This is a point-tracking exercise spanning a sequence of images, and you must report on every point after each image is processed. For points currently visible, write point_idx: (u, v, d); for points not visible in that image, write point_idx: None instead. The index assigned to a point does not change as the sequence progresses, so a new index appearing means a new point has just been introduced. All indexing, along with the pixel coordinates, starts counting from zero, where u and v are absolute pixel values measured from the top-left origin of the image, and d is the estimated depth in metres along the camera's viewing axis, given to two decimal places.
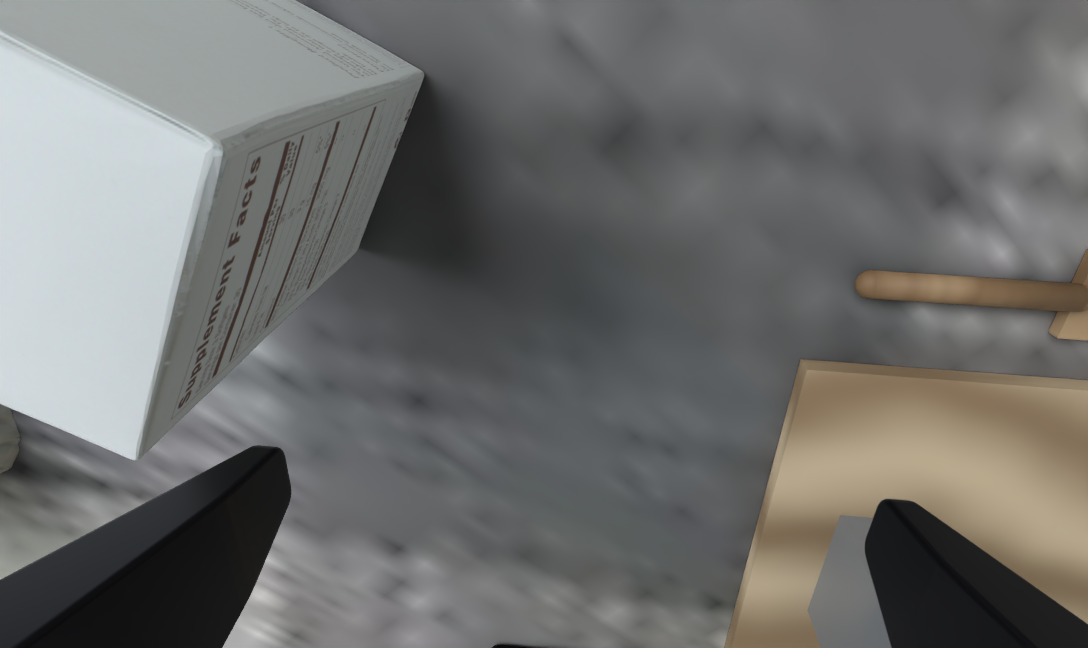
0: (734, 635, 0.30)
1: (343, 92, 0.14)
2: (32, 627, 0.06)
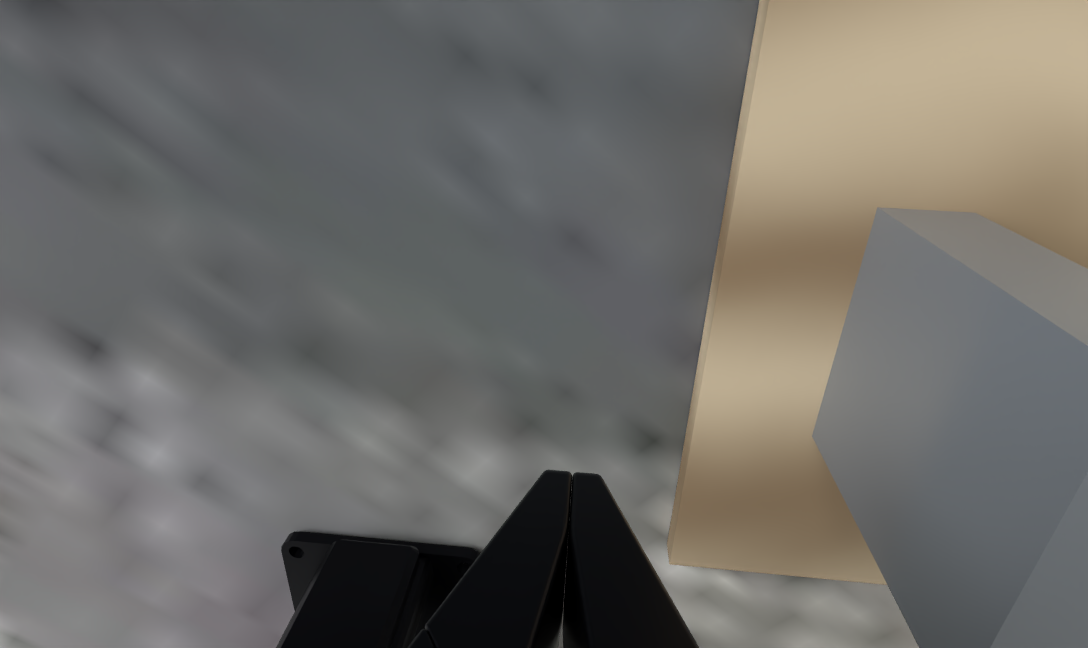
0: (682, 495, 0.17)
1: None
2: None
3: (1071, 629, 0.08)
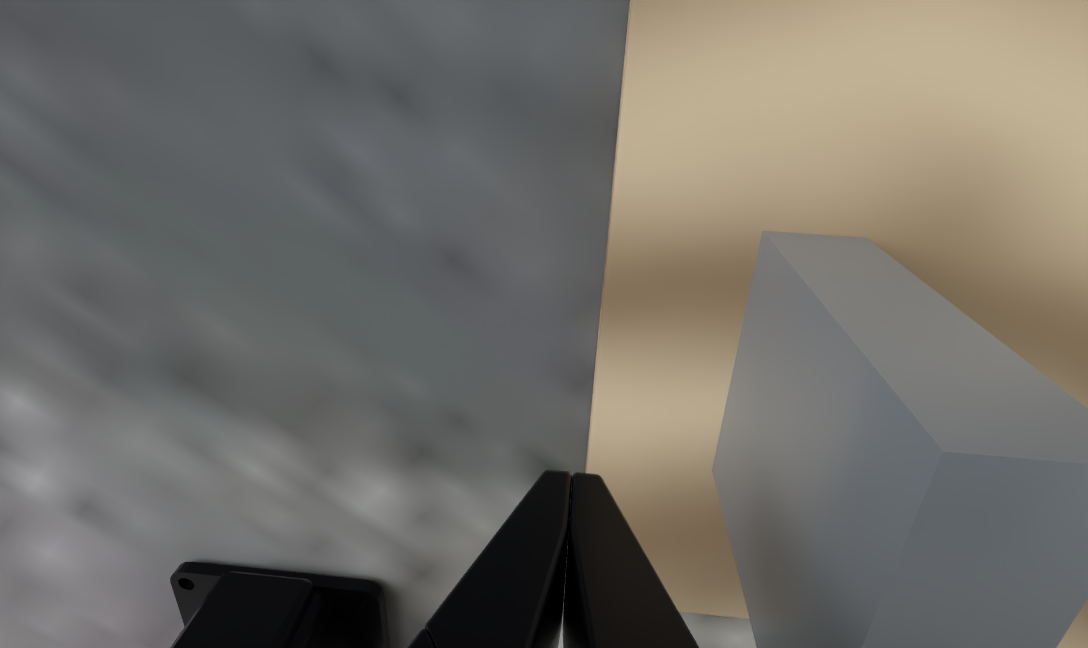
0: None
1: None
2: None
3: None
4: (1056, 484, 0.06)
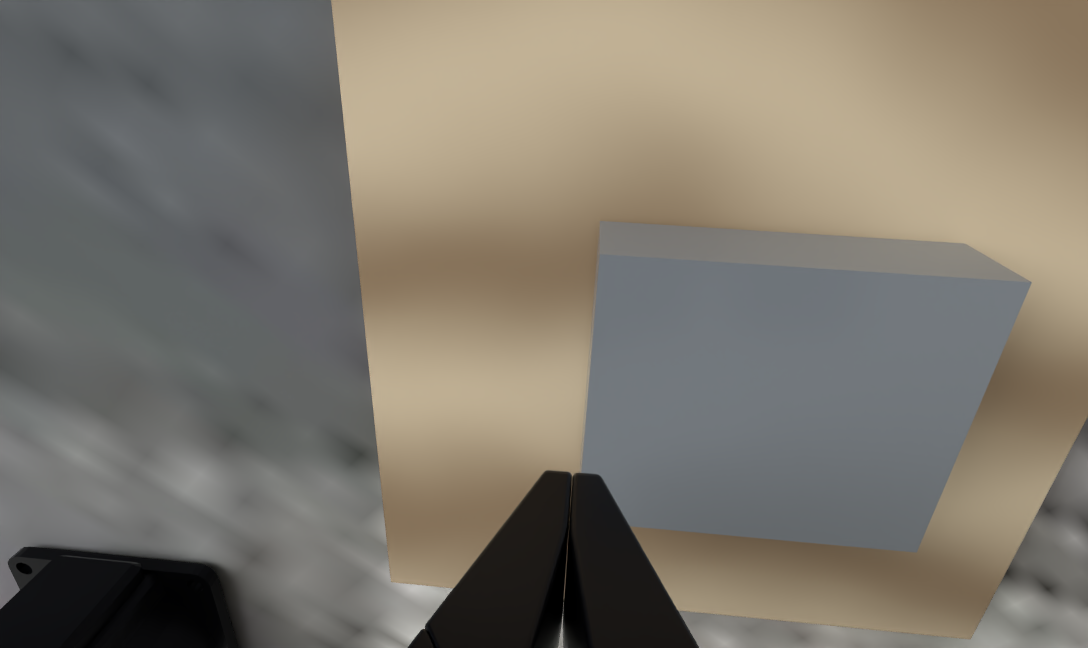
0: (384, 510, 0.16)
1: None
2: None
3: None
4: None
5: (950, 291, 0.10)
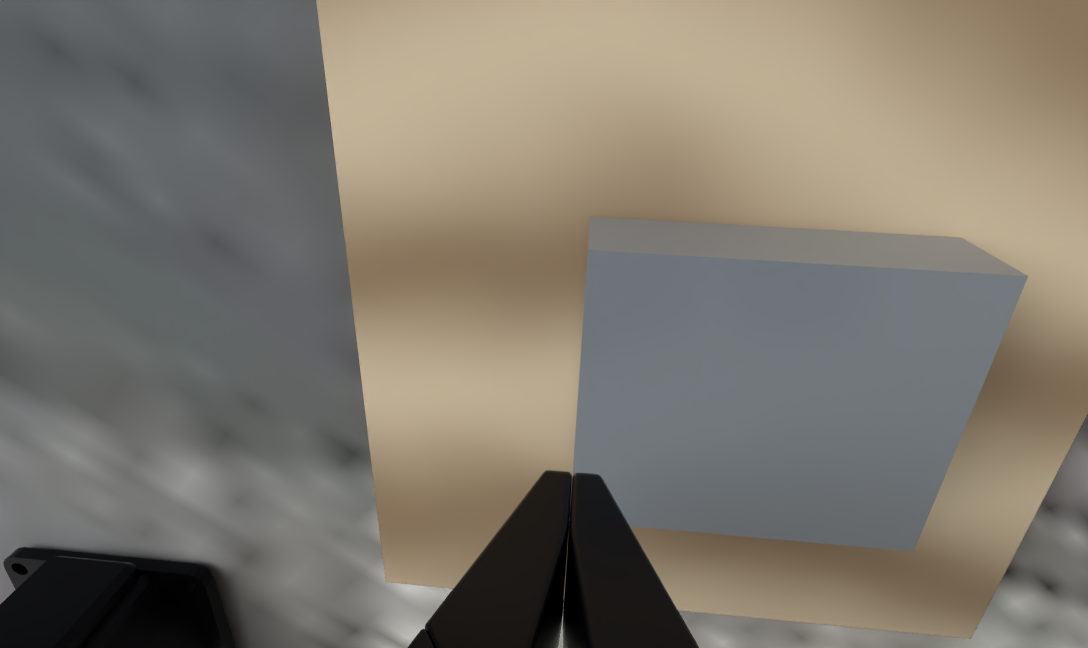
0: (378, 510, 0.16)
1: None
2: None
3: None
4: None
5: (945, 286, 0.10)
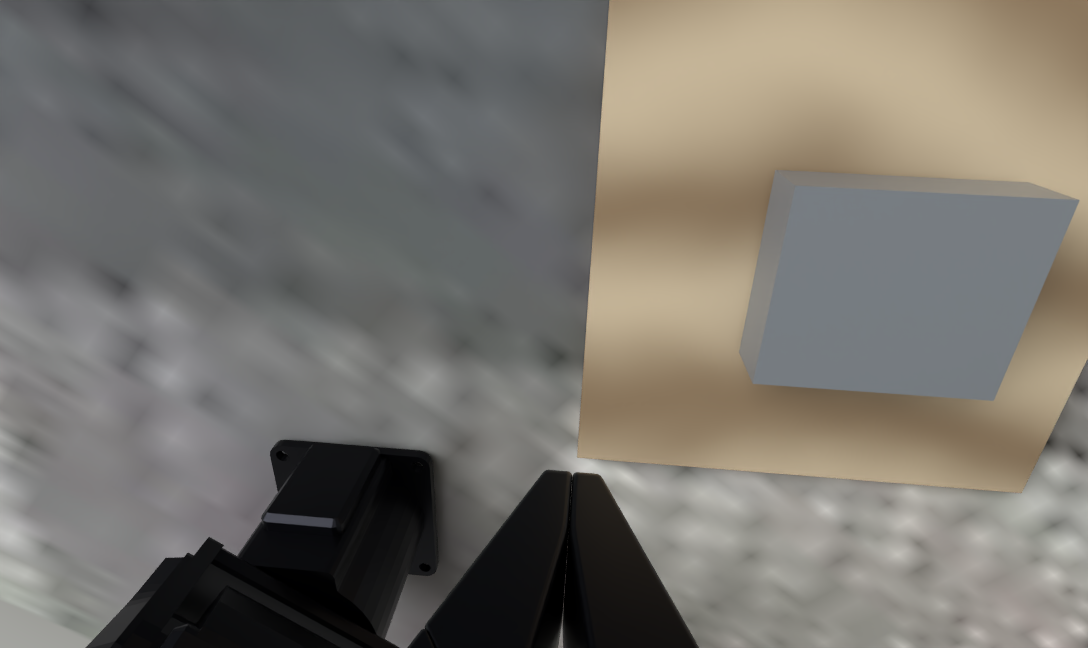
0: (581, 397, 0.21)
1: None
2: None
3: None
4: None
5: (1026, 207, 0.15)
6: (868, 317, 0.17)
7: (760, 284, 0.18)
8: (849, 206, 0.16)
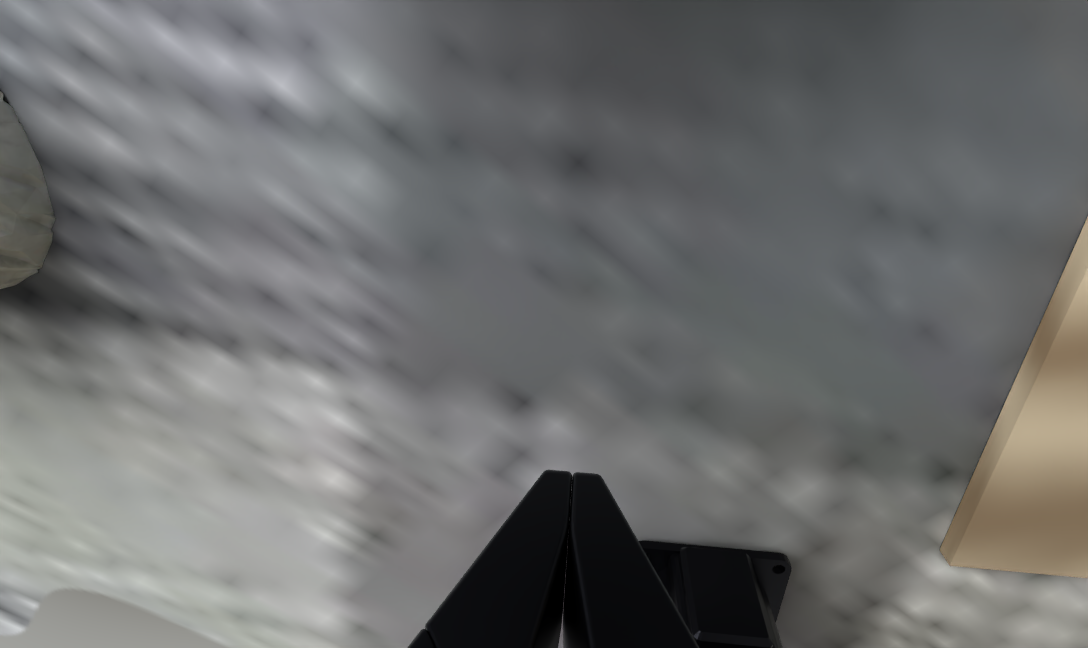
0: (973, 513, 0.22)
1: None
2: None
3: None
4: None
5: None
6: None
7: None
8: None
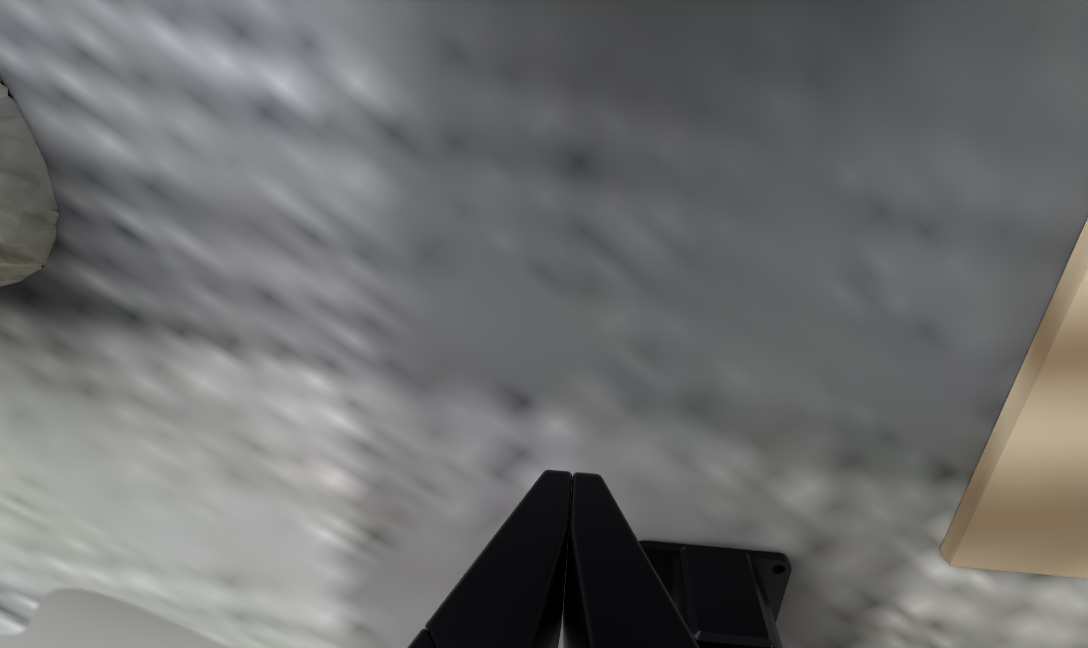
0: (973, 513, 0.22)
1: None
2: None
3: None
4: None
5: None
6: None
7: None
8: None
